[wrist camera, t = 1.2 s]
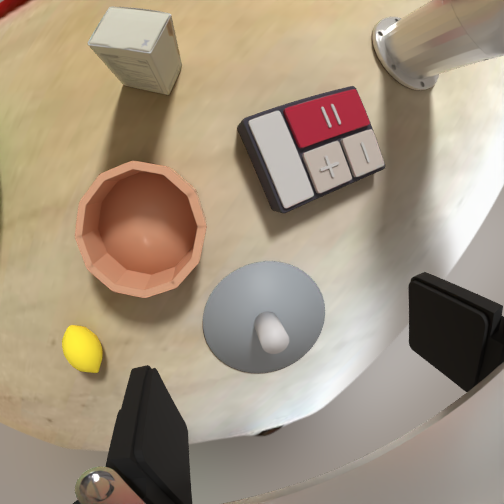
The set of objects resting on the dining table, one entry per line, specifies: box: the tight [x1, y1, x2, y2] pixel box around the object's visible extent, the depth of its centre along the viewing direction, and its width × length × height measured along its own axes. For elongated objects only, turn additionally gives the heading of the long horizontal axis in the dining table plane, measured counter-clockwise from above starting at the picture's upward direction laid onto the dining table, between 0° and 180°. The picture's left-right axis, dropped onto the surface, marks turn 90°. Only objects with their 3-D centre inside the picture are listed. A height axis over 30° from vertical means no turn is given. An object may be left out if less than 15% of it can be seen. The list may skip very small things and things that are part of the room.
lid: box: [203, 261, 325, 373], centre depth 35 cm, size 16×16×6 cm
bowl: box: [75, 161, 206, 298], centre depth 30 cm, size 13×13×6 cm
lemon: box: [62, 325, 103, 373], centre depth 32 cm, size 7×5×5 cm
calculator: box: [237, 86, 385, 213], centre depth 32 cm, size 11×4×15 cm
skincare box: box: [88, 7, 182, 95], centre depth 23 cm, size 6×4×12 cm
